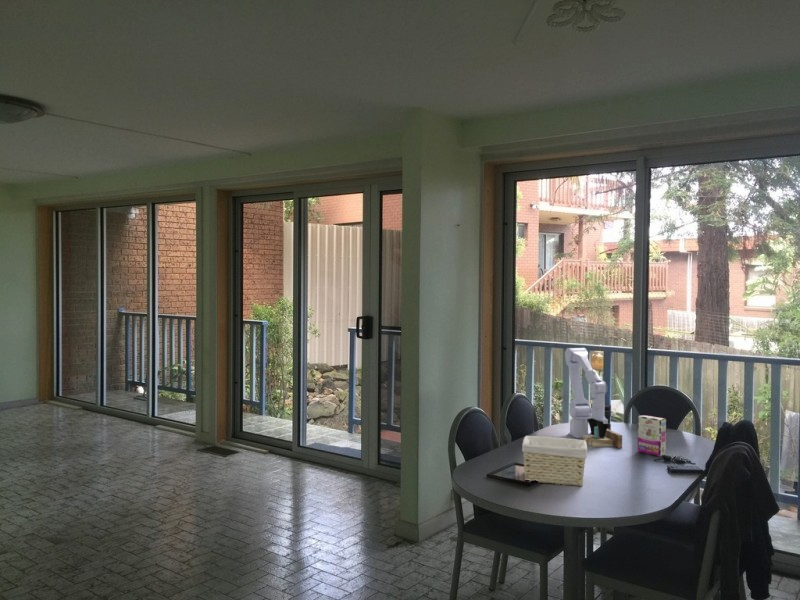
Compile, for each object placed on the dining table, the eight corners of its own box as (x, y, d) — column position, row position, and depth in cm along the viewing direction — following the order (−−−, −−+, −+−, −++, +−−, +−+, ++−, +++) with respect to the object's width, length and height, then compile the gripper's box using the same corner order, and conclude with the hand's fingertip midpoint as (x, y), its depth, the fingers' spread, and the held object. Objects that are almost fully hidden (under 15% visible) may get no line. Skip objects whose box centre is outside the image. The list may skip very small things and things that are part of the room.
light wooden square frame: (583, 441, 303) (583, 435, 303) (602, 441, 305) (602, 434, 305) (593, 447, 293) (593, 440, 293) (613, 446, 295) (613, 439, 295)
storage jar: (613, 433, 321) (613, 404, 320) (608, 437, 312) (608, 407, 312) (593, 431, 326) (593, 402, 326) (587, 435, 318) (588, 405, 317)
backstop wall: (598, 439, 309) (598, 426, 309) (602, 439, 310) (602, 426, 309) (618, 448, 291) (618, 435, 291) (622, 448, 292) (622, 435, 292)
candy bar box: (666, 455, 280) (666, 418, 279) (660, 457, 277) (660, 419, 276) (643, 450, 289) (643, 414, 288) (637, 451, 286) (637, 415, 285)
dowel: (592, 443, 300) (592, 426, 300) (598, 443, 301) (598, 426, 301) (596, 445, 297) (596, 428, 297) (602, 444, 298) (602, 427, 298)
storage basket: (585, 476, 248) (586, 438, 248) (587, 488, 233) (587, 448, 232) (523, 471, 254) (524, 434, 254) (521, 483, 239) (521, 444, 238)
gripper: (583, 404, 305) (582, 432, 306) (598, 410, 291) (597, 439, 291) (596, 404, 307) (596, 432, 307) (612, 409, 292) (611, 439, 293)
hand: (597, 435), depth 299 cm, fingers open, 7 cm apart
